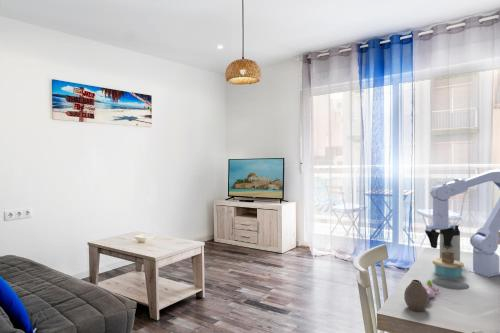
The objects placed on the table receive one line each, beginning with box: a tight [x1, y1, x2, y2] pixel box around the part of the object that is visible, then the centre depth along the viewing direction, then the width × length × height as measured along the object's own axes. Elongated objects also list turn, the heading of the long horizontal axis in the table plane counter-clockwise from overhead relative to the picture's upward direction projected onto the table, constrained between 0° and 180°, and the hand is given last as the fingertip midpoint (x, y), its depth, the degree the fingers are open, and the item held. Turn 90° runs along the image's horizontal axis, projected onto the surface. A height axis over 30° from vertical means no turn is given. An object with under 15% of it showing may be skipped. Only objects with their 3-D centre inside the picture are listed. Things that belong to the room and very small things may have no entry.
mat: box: [431, 277, 470, 291], centre depth 127 cm, size 12×12×1 cm
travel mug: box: [439, 221, 461, 262], centre depth 156 cm, size 8×8×18 cm
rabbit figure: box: [424, 279, 441, 299], centre depth 116 cm, size 6×6×15 cm
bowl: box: [434, 264, 463, 279], centre depth 139 cm, size 9×9×4 cm
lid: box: [432, 251, 465, 268], centre depth 139 cm, size 11×11×5 cm
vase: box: [403, 279, 430, 312], centre depth 107 cm, size 7×7×9 cm
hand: (440, 246), depth 143 cm, fingers open, 7 cm apart
